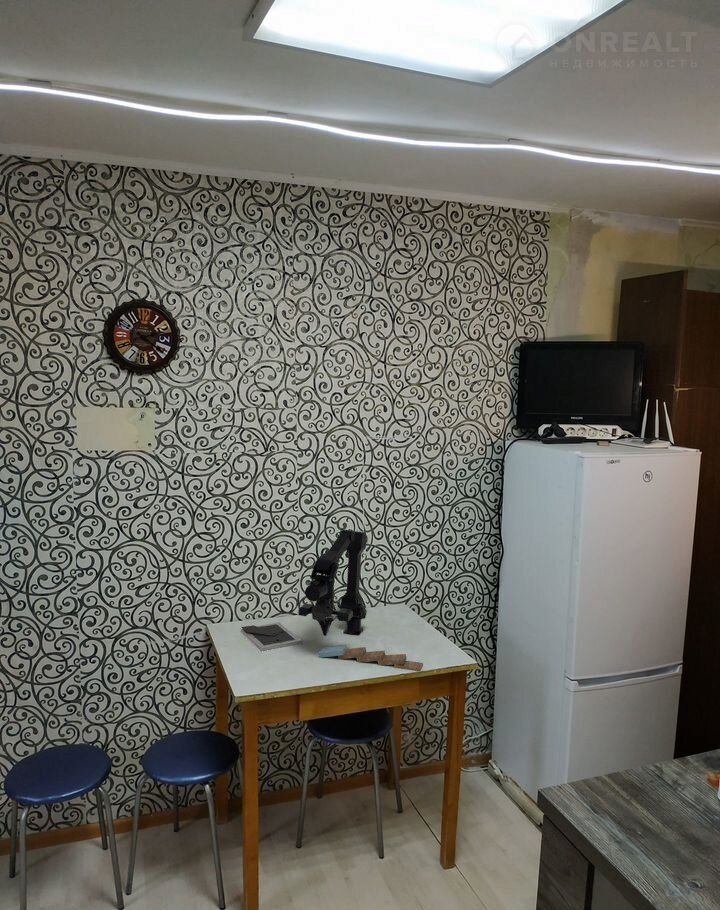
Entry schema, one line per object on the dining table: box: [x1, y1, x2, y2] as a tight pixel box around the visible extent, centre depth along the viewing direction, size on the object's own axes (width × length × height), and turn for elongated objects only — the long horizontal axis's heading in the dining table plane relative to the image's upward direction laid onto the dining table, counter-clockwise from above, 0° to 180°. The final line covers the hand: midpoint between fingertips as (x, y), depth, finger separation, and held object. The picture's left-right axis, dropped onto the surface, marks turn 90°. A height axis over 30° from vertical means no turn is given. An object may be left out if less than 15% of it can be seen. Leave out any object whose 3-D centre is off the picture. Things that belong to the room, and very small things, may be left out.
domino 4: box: [377, 653, 407, 666], centre depth 245 cm, size 2×5×9 cm
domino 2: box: [337, 646, 367, 660], centre depth 249 cm, size 2×5×9 cm
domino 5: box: [393, 660, 424, 672], centre depth 243 cm, size 2×5×9 cm
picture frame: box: [240, 622, 302, 652], centre depth 266 cm, size 16×3×21 cm
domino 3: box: [356, 650, 386, 663], centre depth 247 cm, size 2×5×9 cm
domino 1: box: [318, 645, 348, 659], centre depth 250 cm, size 2×5×9 cm
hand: (325, 635), depth 251 cm, fingers closed
